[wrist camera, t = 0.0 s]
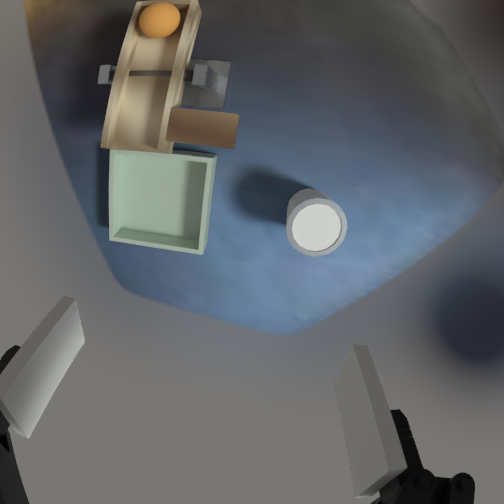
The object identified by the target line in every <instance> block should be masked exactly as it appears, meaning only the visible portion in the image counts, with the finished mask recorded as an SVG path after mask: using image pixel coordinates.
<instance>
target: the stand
mask: <svg viewBox="0 0 504 504" xmlns="http://www.w3.org/2000/svg"><path fill="white" fill-rule="evenodd" d="M116 67H117V66H113V65H100V71H99V78H98V84H103V85H112V83H113V79H114V75H115V71H116ZM230 68H231V62H225V61H214V60H199V59H190V62H189V66H188V70H193V72H194V74H193V80H192V82H186V81H185V85H184V89H183V94H182V99H181V105H186V106H198V107H209V108H219V109H224V105H225V98H226V92H227V86H228V80H229V73H230Z"/></svg>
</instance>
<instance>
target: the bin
mask: <svg viewBox="0 0 504 504" xmlns="http://www.w3.org/2000/svg"><path fill="white" fill-rule="evenodd" d="M216 162H217V154H209V153H201V152H192V151H182V150H173V151H172V154H165V153H154V152H141V151H127V150H112V149H110V163H109V234H110V240H111V241H118V242H124V243H130V244H136V245H143V246H149V247H155V248H162V249H168V250H174V251H181V252H187V253H194V254H200V255H203V253H204V250H205V248H206V245H207V240H208V230H209V221H210V212H211V203H212V194H213V186H214V178H215V170H216Z"/></svg>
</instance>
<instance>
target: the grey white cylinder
mask: <svg viewBox="0 0 504 504" xmlns="http://www.w3.org/2000/svg"><path fill="white" fill-rule="evenodd" d="M286 231H287V236H288V240H289V241H290V243H291V244H292V246H293V247H294V248H295V249H296V250H298V251H299V252H301V253H303V254H304V255H309V256H321V255H325V254H328V253H330V252H332V251H333V250H335V249H336V248H338V246H339V245H340V244H341V242H342V241H343V240H344V238H345V235H346V231H347V221H346V216H345V214H344V212H343V211H342V209H341V208H340V206H338V205H337V204H336V203H335V202H333V201H332V200H331V199H329V198H328V197H327V196H325V195H324V194H323V193H321V192H320V191H318V190H316V189H310V188H307V189H303V190H300V191H298V192H297V193H295V194H294V195H293V196H292V197H291V199H290V200H289V202H288V207H287V220H286Z"/></svg>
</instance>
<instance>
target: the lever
mask: <svg viewBox="0 0 504 504" xmlns="http://www.w3.org/2000/svg"><path fill="white" fill-rule="evenodd" d="M156 2H168V3H171V4H173V5H174V6H175V7H176V8H177V9H178V11H179V13H180V23H179V25H178V27H177V29H176V30H175V31H174V32H173V33H171V34H170V35H168V36H166V37H162V38H152V37H149V36H147V35H146V34H144V33H143V32H142V30H141V28H140V25H139V19H140V15H141V13H142V12H143V11H144V9H145V8H147V7H148V6H149V5H151V4H153V3H156ZM201 14H202V12H201V9H200V6H199V3H198V0H158V1H144V2H137V3H136V6H135V9H134V11H133V14H132V17H131V20H130V23H129V26H128V29H127V32H126V36H125V39H124V42H123V45H122V49H121V52H120V56H119V60H118V63H117V67H116V71H115V75H114V79H113V83H112V88H111V92H110V97H109V101H108V106H107V111H106V116H105V122H104V128H103V133H102V140H101V146H100V148H106V149H112V150H127V151H141V152H154V153H165V154H172V151H173V144H174V142H175V143H185V144H195V145H204V146H213V147H221V148H228V149H234V146H235V140H236V134H237V128H238V122H239V114H232V113H224V112H215V111H205V110H194V109H181V108H180V105H181V99H182V94H183V89H184V85H185V81H186V82H192V80H193V74H194V72H193V70H188V66H189V62H190V57H191V53H192V49H193V45H194V41H195V37H196V33H197V29H198V25H199V22H200V18H201Z"/></svg>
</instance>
